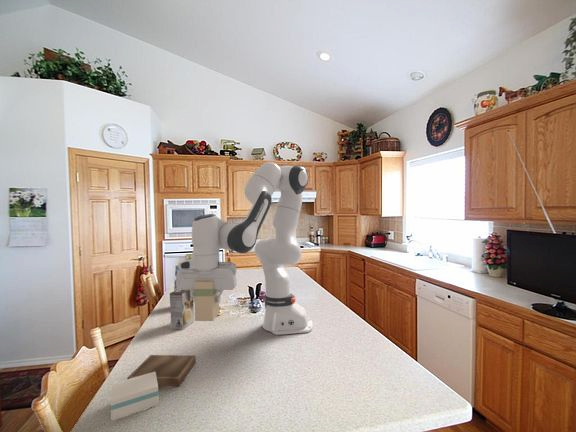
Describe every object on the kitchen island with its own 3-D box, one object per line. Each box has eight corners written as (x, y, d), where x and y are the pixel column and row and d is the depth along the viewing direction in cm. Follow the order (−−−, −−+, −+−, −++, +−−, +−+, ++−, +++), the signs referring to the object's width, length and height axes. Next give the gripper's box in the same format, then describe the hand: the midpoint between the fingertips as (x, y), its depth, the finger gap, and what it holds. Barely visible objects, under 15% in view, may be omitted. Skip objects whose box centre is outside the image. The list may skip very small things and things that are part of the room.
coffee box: (182, 320, 134) (181, 287, 133) (194, 321, 132) (193, 287, 132) (170, 328, 125) (169, 293, 124) (183, 329, 123) (182, 293, 123)
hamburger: (230, 317, 138) (230, 305, 138) (200, 320, 135) (200, 307, 135) (229, 306, 152) (228, 296, 152) (202, 309, 149) (201, 298, 148)
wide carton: (156, 389, 84) (155, 371, 83) (159, 405, 77) (158, 386, 76) (112, 403, 78) (111, 383, 78) (111, 422, 71) (110, 401, 71)
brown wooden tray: (195, 362, 97) (195, 355, 97) (179, 386, 84) (178, 378, 84) (150, 361, 98) (150, 354, 98) (127, 385, 85) (127, 377, 85)
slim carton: (219, 312, 100) (218, 276, 99) (212, 321, 93) (212, 282, 92) (202, 312, 100) (201, 276, 100) (194, 321, 93) (193, 282, 93)
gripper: (238, 260, 98) (239, 299, 99) (181, 260, 100) (182, 298, 100) (233, 263, 92) (234, 305, 93) (173, 264, 93) (174, 305, 94)
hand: (207, 302), depth 96 cm, fingers closed on slim carton, 6 cm apart
